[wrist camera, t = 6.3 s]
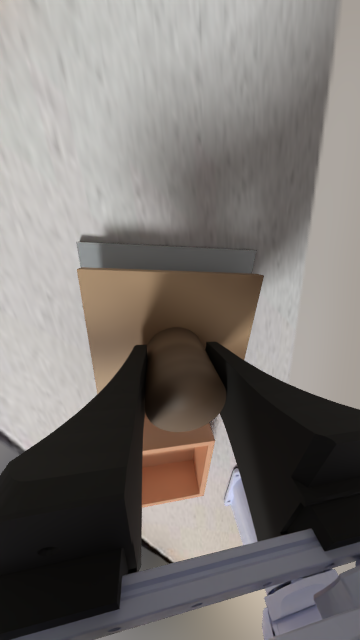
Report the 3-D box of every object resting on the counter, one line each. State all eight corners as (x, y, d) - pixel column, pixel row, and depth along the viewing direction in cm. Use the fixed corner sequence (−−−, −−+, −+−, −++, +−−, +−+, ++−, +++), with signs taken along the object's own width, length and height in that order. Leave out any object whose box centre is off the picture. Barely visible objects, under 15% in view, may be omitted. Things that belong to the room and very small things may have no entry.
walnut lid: (229, 395, 15) (263, 458, 10) (103, 406, 13) (81, 487, 9) (256, 273, 11) (327, 292, 7) (82, 267, 9) (23, 287, 5)
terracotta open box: (195, 457, 21) (203, 495, 18) (117, 469, 20) (112, 513, 17) (203, 404, 18) (215, 440, 14) (108, 414, 16) (98, 457, 13)
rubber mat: (225, 384, 17) (227, 387, 17) (105, 394, 15) (103, 398, 15) (253, 250, 12) (256, 250, 12) (78, 241, 10) (76, 241, 10)
